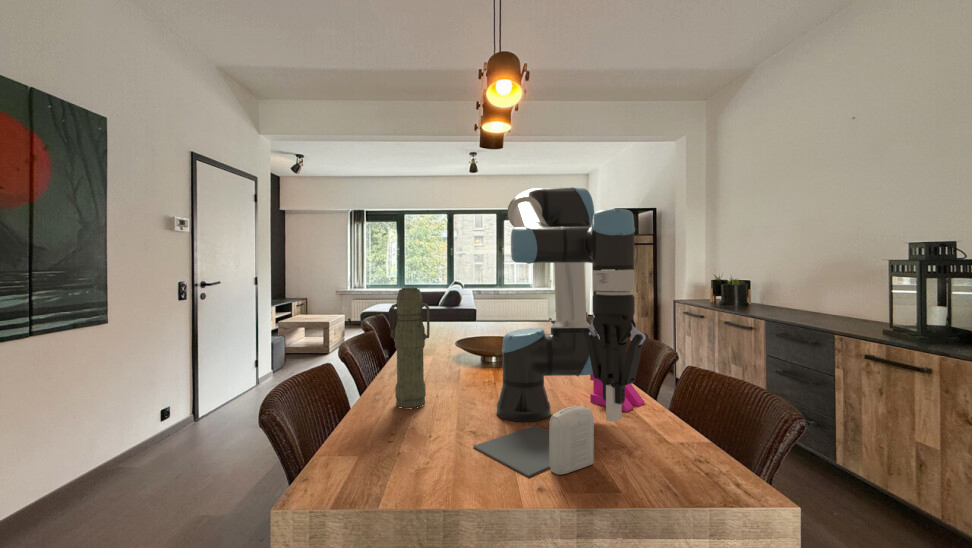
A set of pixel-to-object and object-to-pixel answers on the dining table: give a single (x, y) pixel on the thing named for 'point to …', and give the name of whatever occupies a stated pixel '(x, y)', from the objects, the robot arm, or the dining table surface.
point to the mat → (520, 450)
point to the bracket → (630, 395)
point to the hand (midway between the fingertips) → (613, 419)
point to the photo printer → (571, 439)
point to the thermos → (409, 347)
